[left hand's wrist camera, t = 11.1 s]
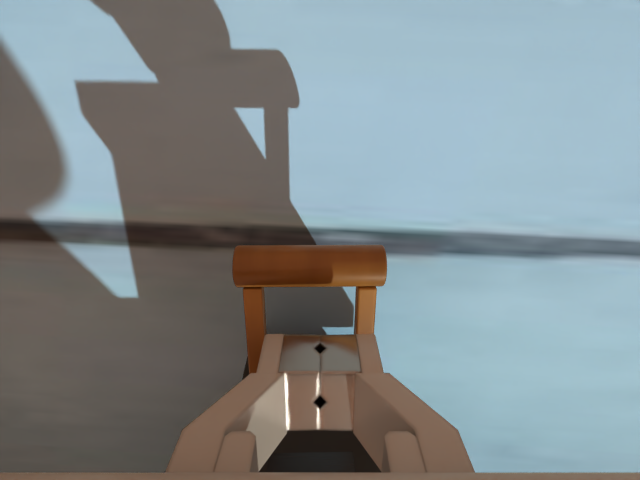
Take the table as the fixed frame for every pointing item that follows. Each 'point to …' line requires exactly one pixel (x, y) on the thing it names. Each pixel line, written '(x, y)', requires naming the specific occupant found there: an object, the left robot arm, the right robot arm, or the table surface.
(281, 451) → the drawer
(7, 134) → the table surface
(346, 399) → the left robot arm
